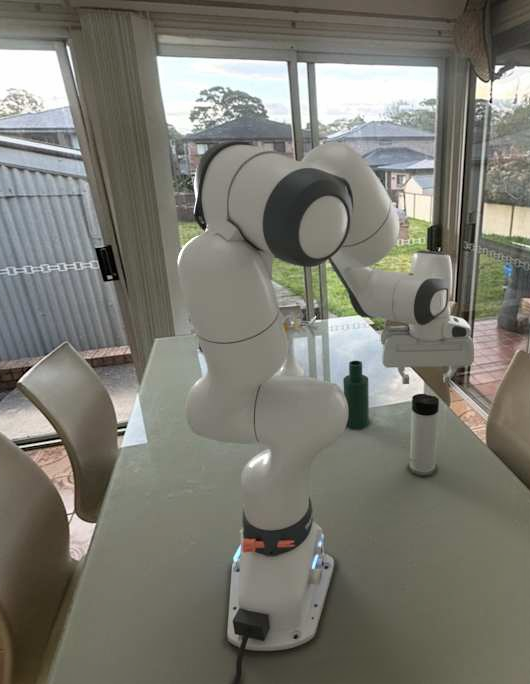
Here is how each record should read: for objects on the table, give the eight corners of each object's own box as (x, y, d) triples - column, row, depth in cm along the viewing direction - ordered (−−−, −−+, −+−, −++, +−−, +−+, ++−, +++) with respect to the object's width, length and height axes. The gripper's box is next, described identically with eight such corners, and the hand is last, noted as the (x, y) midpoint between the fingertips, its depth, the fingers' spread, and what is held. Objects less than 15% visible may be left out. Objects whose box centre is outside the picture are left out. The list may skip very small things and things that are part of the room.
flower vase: (325, 381, 154) (322, 313, 145) (276, 395, 144) (269, 323, 135) (308, 368, 164) (304, 304, 155) (261, 381, 155) (254, 313, 146)
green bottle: (369, 428, 125) (368, 368, 119) (344, 429, 125) (342, 368, 118) (368, 415, 132) (367, 357, 125) (344, 416, 132) (343, 358, 125)
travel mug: (405, 472, 107) (407, 400, 100) (415, 457, 113) (417, 388, 105) (429, 480, 104) (433, 406, 97) (438, 464, 110) (443, 393, 103)
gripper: (381, 331, 92) (381, 390, 97) (479, 329, 92) (473, 388, 97) (379, 321, 98) (379, 377, 103) (471, 319, 98) (466, 375, 103)
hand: (426, 382), depth 100 cm, fingers open, 8 cm apart
